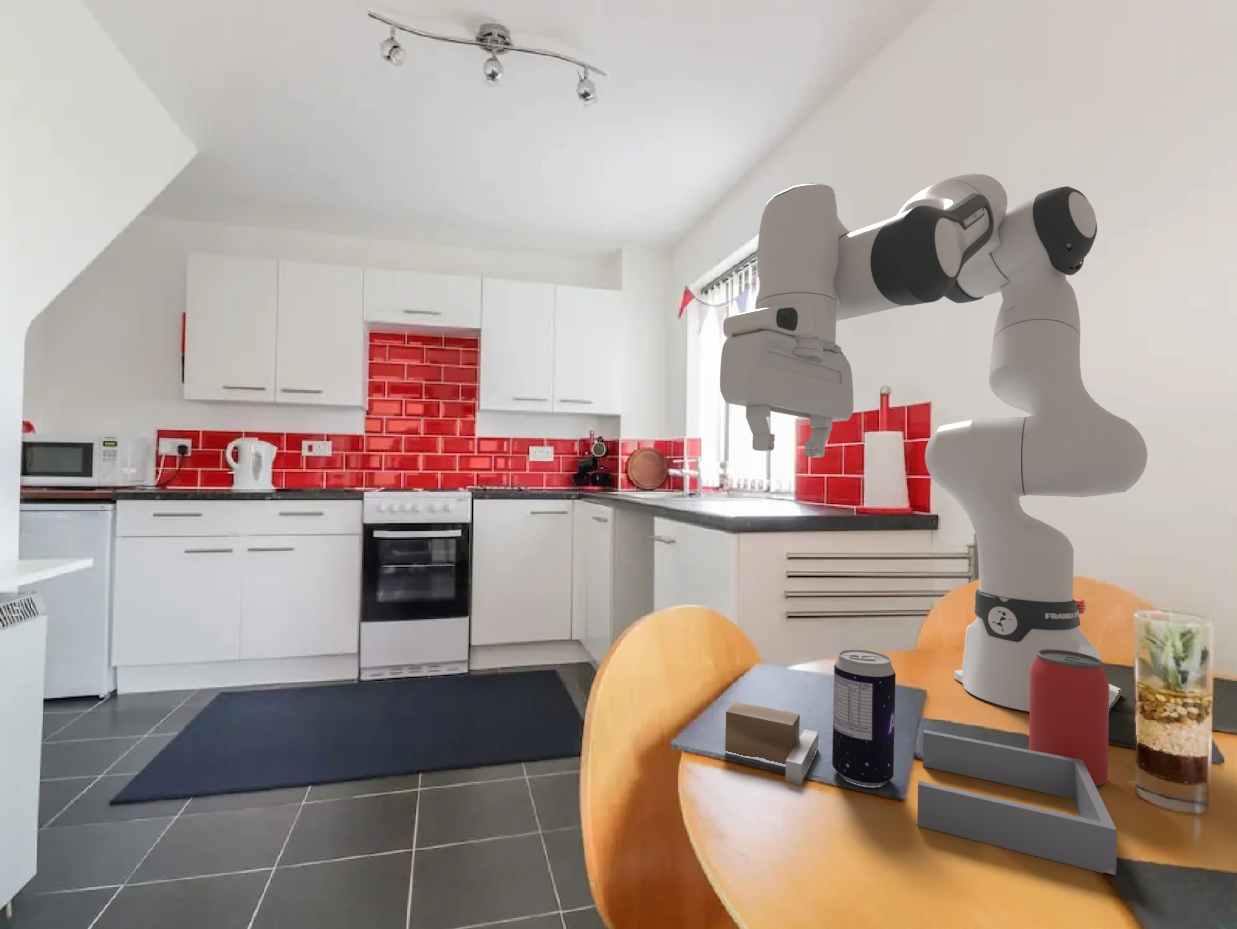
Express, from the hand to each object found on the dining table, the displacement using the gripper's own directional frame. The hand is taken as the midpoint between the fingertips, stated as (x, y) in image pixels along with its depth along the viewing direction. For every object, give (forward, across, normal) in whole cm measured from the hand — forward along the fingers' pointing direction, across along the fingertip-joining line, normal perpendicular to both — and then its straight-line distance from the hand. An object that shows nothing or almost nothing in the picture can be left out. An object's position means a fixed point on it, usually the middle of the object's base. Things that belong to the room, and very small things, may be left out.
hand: (789, 454), depth 70 cm
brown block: (+32, +3, 0) cm, 33 cm away
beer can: (+32, -19, +21) cm, 43 cm away
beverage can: (+32, -1, +9) cm, 34 cm away
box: (+32, -6, +20) cm, 38 cm away
